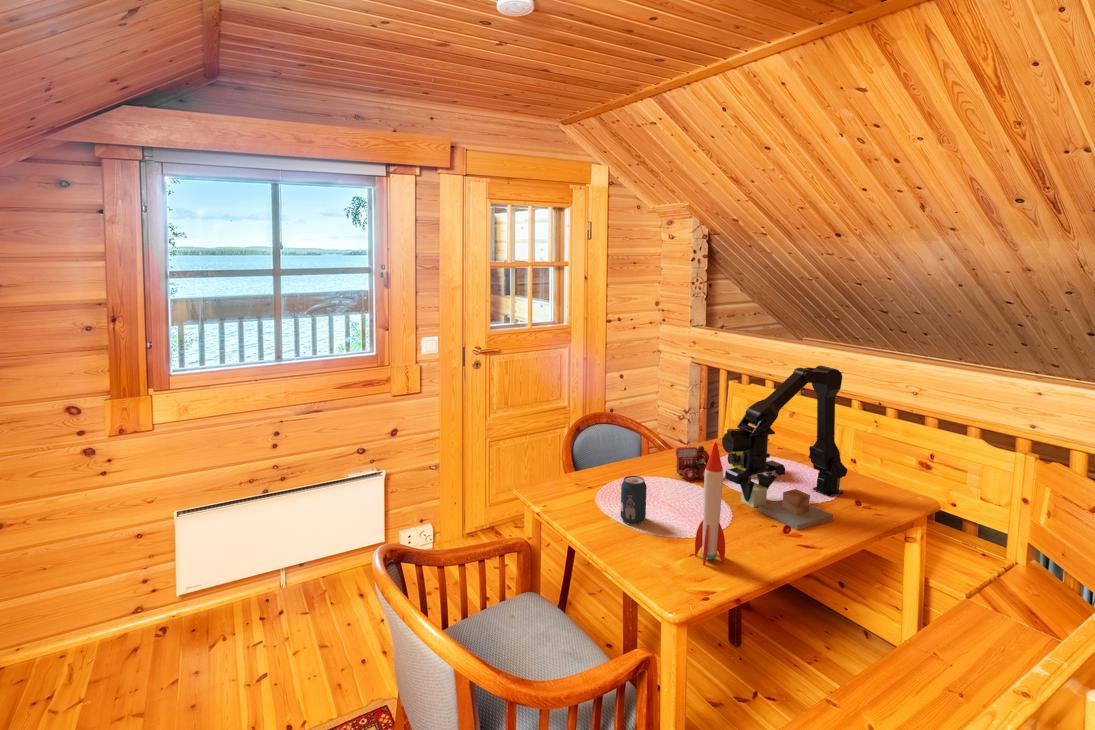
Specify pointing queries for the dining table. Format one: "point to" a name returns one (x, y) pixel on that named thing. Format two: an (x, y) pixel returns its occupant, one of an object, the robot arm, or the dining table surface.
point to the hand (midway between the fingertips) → (753, 499)
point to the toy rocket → (711, 511)
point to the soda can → (633, 500)
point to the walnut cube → (795, 501)
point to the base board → (793, 520)
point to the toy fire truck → (691, 462)
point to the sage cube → (756, 496)
